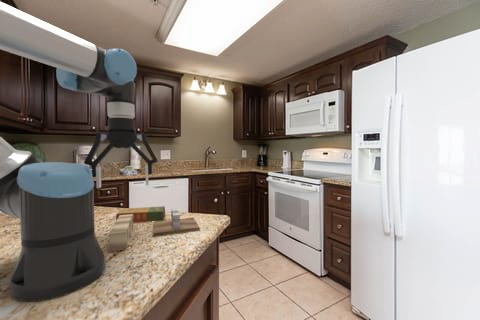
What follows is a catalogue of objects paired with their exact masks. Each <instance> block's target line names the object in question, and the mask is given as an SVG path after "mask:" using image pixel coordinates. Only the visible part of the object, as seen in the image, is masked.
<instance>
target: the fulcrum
mask: <svg viewBox="0 0 480 320" xmlns="http://www.w3.org/2000/svg"><path fill="white" fill-rule="evenodd" d="M170 214H171V215H170V216H171V217H170V219H167V220H164V221H156V222H152V223H153V225H152V228H153V229H152V230H153V232H152V233H153V235H152V236H153V237H162V236H168V235H175V234H176V235H177V234H183V233H184V234H185V233H191V232H192V233H193V232H199V231H200V229H201V228H200V226H199V224H198V223H197V220H196V219H195V218H194V217H187V218H186V217H185V218H181V215H180V212H179V209H178V208H176V207H175V208H171V209H170Z"/></svg>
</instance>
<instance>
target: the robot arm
mask: <svg viewBox="0 0 480 320" xmlns="http://www.w3.org/2000/svg"><path fill="white" fill-rule="evenodd" d="M0 50H2V51H5V52H7V53H10V54H14V55H17V56H20V57H23V58H25V59H29V60H32V61H36V62H38V63H42V64H45V65H48V66H51V67H54V68H56V71H55V73H56V75H55V76H56V80H57V83H58V85H59V86H60V87H61V88H63V89H67V90H71V91H74V92H79V93H84V94H85V93H87V94H91V95H97V96H101V97H102V96H103V97H106V102H107V103H106V107H107V108H106V109H107V110H106V112H107V117H109V118H108V119H107V131H108V132H107V134H103V133H99V132H98V133H96V134H95V141H94V142H93V145H92V146H91V148H90V150H89V152H88V154H87V156H86V158H85V159H84V161H83V164H82V163H78V162H77V163H76V162H60V161H59V162H58V161H57V162H55V161H53V162H51V161H48V162H45V161H44V162H43V161H41V160H40V159H39V158H38V157H36V155H35V154H33V153H32V152H31V151H27V150H18V149H15V147H13V146H12V145H11V144H10V143H9V142H7V141H6V140H5V139H3V138H4V137H2V136H0V212H1V213H4V214H5V215H8V216H11V217H15V218H18V219H19V220H20V241H21V242H20V243H21V248H20V252H19V255H18V258H17V260H16V264H15V266H14V269H13V272H12V274H11V278H10V280H9V295H10V297H11V298H12V299H14V300H17V301H21V302H36V301H38V302H39V301H44V300H48V299H53V298H57V297H61V296H64V295H67V294H69V293H72V292H75V291H77V290H79V289H82V288H85V286H88V285H90V284H91V283H93V282H95V281H97V279H99V278H100V277H101V276H102V275H103V273H104V272H105V270H106V257H105V254H104V252H103V251H102V247H101V245H100V242H99V241H98V239H97V237H96V234H95V232H96V231H95V200H94V199H95V198H94V197H95V195H94V194H95V193H94V191H95V190H94V187H95V183H96V189H100V188H102V169H101V165H99V164H100V163H101V162H102V161H103V159H104V158H105V157H106V156H107V155H109V153H110V152H111V151H112V150H113V149H114V148H116V149H122V148H123V149H129V148H132V149H133V150H134V151H135V153H137V154H138V155H139V156H140V157H141V158H142V159H143V161H145V162H146V164H144V165H145V166H144V167H145V169H144V170H145V186H149V185H150V182H149V175H152V173H153V164H155V163H158V158H157V157H156V155H155V153H154V152H153V150H152V148H151V146H150V144H149V143H148V140H147V135H146V134H145V133H142V134H136V120H135V118H136V117H135V115H136V111H135V110H136V109H135V106H136V105H135V80H134V79H135V78H136V76H137V74H138V67H137V62H136V61H135V59H134V58H133V56H132V55H131V54H130V53H129V52H128V51H126V50H125V49H123V48H117V47H116V48H109V49H106V48H103V47H101V46H99V45H96V44H94V43H92V42H90V41H87V40H85V39H83V38H81V37H78V36H76V35H74V34H72V33H71V32H67V31H66V30H63V29H61V28H59V27H57V26H54V25H53V24H50V23H48V22H46V21H43V20H41V19H39V18H37V17H35V16H33V15H31V14H28V13H26V12H24V11H22V10H20V9H17V8H15V7H13V6H11V5H9V4H7V3H5V2H2V1H0ZM138 139H139V141H140V142H142V143H143V145H144V147H145V148H146V150H147V152H148V154H149V155H150V158H151V159H149V157H148V156H147V155H146V154H145V153H144V152H143V151H142V150H141V149H140V148H139V147H138V146H137V144H135V142H136V141H137V140H138ZM105 140H107V141H108V142H109V144H108V145H107V146H106V147H105V148H104V149H103V150H102V151H101V152H100V153H99V155H98V156H97V157H95V155H96V154H97V152H98V150H99V148H100V146H101V144H102V142H104V141H105ZM94 158H95V159H94ZM87 165H88V166H87ZM89 166H90V167H91V168H90V167H89ZM94 178H95V180H94ZM95 181H96V182H95Z"/></svg>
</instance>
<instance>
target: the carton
mask: <svg viewBox="0 0 480 320" xmlns="http://www.w3.org/2000/svg"><path fill="white" fill-rule="evenodd" d="M129 214H133V224H138V223H137V222H142V223H151V222H152V221H156V222H157V221H165V216H166V206H163V205H162V206H147V207H128V208H127V207H126V208H125V207H124V208H121V209H120V210H119V211H118V212H117V213H115V222H116V221H117V219H118V217H119V215H129ZM152 223H153V222H152Z"/></svg>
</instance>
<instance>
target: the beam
mask: <svg viewBox="0 0 480 320" xmlns="http://www.w3.org/2000/svg"><path fill="white" fill-rule="evenodd" d="M132 230H134V223H133V214H129V215H119V217H118V219H117V221H116V220H115V222H114V224H113V225H112V227H111V230H110V231H109V233H108V252H109V253H113V252H112V251H115V252H121V251H120V250H122V251H127V250H126V249H128V247H129V243H130V240H131V237H132V234H133V231H132Z"/></svg>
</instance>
